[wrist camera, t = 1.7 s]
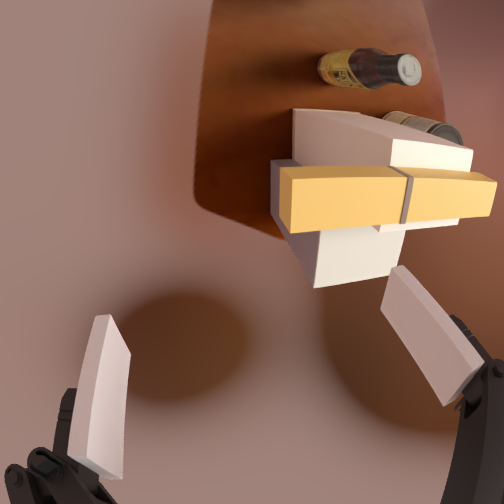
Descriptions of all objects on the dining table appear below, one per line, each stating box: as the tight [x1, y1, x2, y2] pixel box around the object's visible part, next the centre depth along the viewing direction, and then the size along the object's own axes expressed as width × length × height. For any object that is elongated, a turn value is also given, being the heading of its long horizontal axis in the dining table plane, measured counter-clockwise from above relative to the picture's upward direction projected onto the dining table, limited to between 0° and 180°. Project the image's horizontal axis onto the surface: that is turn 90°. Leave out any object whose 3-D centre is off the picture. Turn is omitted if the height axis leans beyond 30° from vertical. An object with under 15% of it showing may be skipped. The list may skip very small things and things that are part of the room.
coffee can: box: [382, 111, 463, 146], centre depth 43 cm, size 10×10×14 cm
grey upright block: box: [270, 159, 405, 288], centre depth 42 cm, size 12×10×22 cm
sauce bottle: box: [317, 48, 421, 90], centre depth 33 cm, size 6×6×20 cm
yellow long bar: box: [279, 166, 497, 234], centre depth 23 cm, size 24×4×3 cm, turn 91°
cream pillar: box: [292, 109, 473, 233], centre depth 36 cm, size 12×9×27 cm
